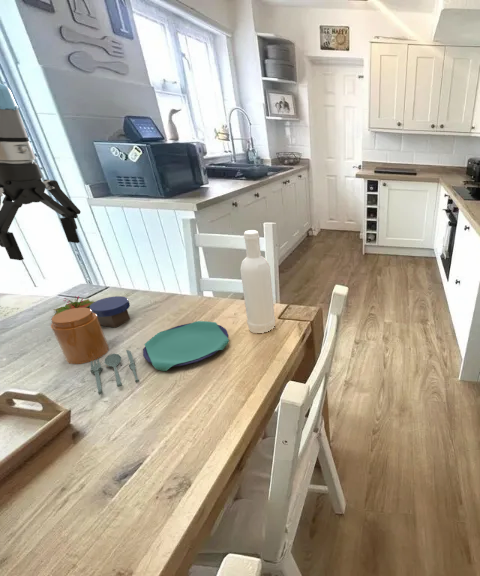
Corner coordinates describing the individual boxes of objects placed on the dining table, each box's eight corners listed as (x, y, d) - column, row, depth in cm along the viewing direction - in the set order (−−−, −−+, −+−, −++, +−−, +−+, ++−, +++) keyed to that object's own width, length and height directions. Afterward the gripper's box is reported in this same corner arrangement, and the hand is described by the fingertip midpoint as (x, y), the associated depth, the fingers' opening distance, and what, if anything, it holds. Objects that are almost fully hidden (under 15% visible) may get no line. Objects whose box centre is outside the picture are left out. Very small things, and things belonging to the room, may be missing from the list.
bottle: (268, 317, 104) (258, 226, 91) (280, 327, 99) (272, 233, 86) (243, 325, 99) (229, 230, 86) (255, 337, 94) (242, 237, 81)
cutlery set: (240, 351, 88) (239, 344, 86) (97, 404, 69) (93, 396, 68) (215, 320, 100) (214, 314, 99) (89, 357, 82) (86, 350, 80)
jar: (56, 361, 80) (37, 321, 74) (89, 342, 87) (74, 304, 82) (86, 366, 79) (69, 326, 74) (117, 346, 86) (103, 308, 81)
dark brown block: (100, 325, 94) (93, 307, 91) (115, 317, 98) (109, 299, 96) (115, 327, 94) (109, 309, 91) (130, 319, 98) (124, 301, 95)
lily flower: (109, 309, 102) (105, 296, 100) (59, 325, 93) (53, 311, 91) (93, 297, 108) (88, 285, 106) (44, 312, 98) (38, 298, 96)
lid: (137, 304, 98) (135, 298, 97) (111, 318, 90) (108, 312, 89) (111, 300, 98) (109, 294, 98) (83, 314, 91) (80, 308, 90)
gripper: (-45, 167, 61) (2, 270, 71) (81, 159, 84) (105, 237, 93) (-80, 163, 62) (-28, 265, 71) (55, 156, 84) (81, 234, 94)
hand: (47, 250), depth 82 cm, fingers open, 13 cm apart
